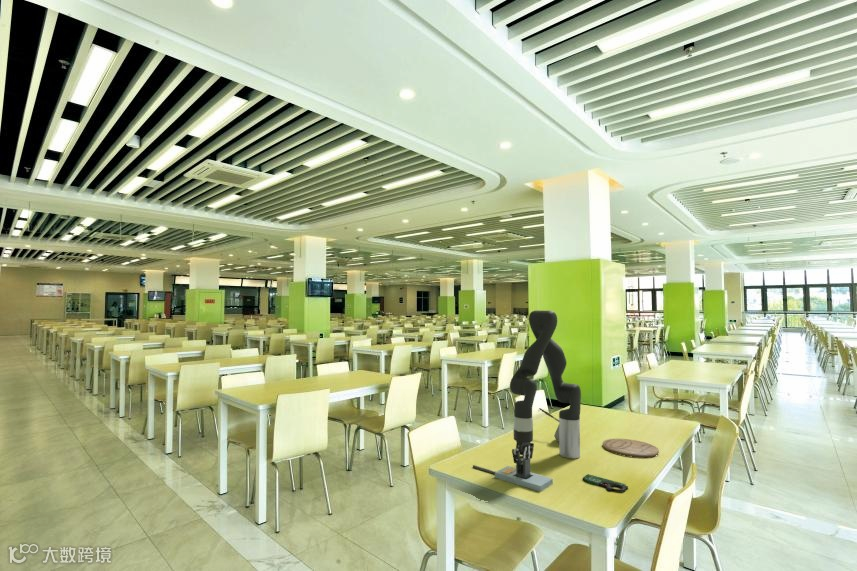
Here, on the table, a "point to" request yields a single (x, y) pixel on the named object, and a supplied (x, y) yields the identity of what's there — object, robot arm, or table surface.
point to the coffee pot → (558, 425)
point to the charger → (524, 469)
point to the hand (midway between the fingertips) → (523, 472)
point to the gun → (605, 483)
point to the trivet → (630, 448)
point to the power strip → (509, 475)
